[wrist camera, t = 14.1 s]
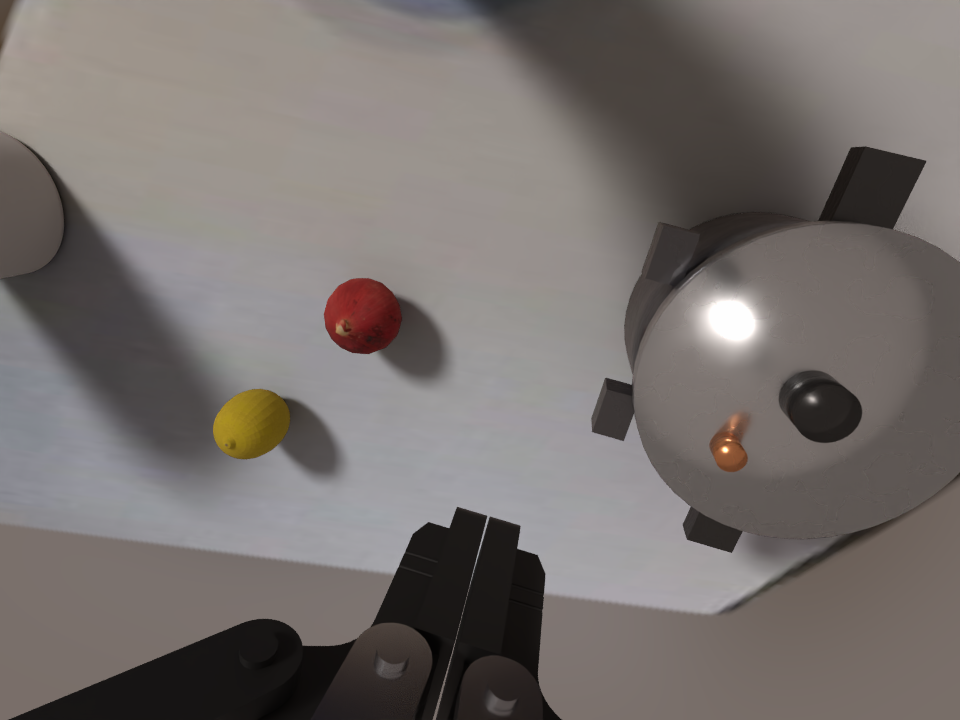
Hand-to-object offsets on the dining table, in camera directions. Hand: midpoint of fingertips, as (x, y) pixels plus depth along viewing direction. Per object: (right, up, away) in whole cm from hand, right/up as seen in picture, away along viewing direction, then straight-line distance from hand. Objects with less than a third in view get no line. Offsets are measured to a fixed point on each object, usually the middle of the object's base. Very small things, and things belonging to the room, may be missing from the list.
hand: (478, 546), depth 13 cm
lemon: (-19, 0, +39) cm, 43 cm away
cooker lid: (+18, +3, +18) cm, 26 cm away
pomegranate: (-8, +9, +34) cm, 36 cm away
